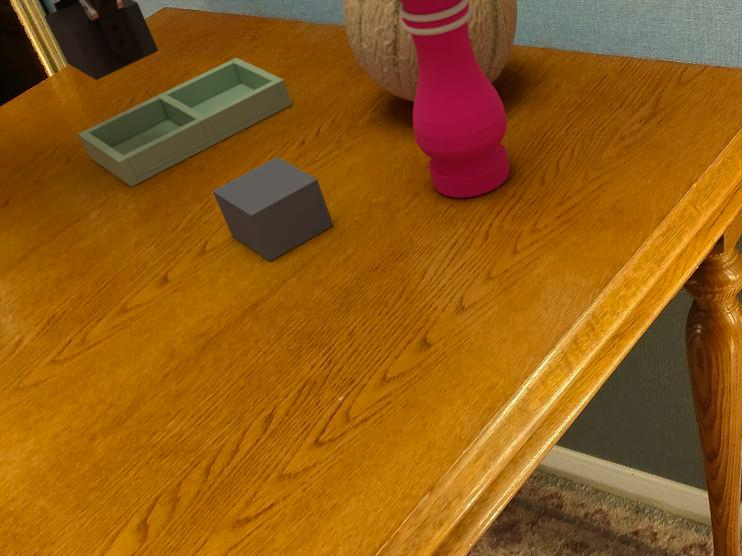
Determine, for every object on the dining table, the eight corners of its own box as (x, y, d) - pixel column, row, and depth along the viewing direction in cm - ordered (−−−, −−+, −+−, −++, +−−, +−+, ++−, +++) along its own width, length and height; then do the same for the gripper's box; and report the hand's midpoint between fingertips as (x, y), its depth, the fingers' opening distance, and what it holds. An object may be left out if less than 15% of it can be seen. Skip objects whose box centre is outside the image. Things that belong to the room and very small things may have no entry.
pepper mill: (415, 173, 82) (344, -102, 67) (496, 145, 83) (443, -132, 68) (444, 212, 77) (374, -74, 62) (529, 181, 78) (480, -107, 64)
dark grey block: (96, 80, 83) (72, 31, 80) (68, 64, 87) (43, 16, 84) (158, 51, 85) (137, 1, 82) (129, 36, 89) (107, -12, 86)
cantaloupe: (342, 104, 93) (287, -75, 81) (470, 43, 97) (435, -135, 86) (425, 155, 84) (377, -38, 73) (563, 86, 88) (537, -106, 77)
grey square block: (269, 262, 76) (250, 215, 74) (231, 236, 80) (212, 190, 77) (333, 225, 79) (317, 178, 76) (293, 202, 82) (277, 156, 79)
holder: (131, 187, 88) (118, 161, 86) (90, 158, 93) (77, 133, 91) (292, 104, 94) (283, 79, 92) (245, 81, 99) (236, 57, 97)
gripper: (-95, -192, 76) (33, 49, 89) (-17, -170, 66) (113, 97, 79) (-3, -223, 78) (107, 15, 92) (85, -207, 69) (194, 57, 82)
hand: (109, 51), depth 85 cm, fingers closed on dark grey block, 6 cm apart
